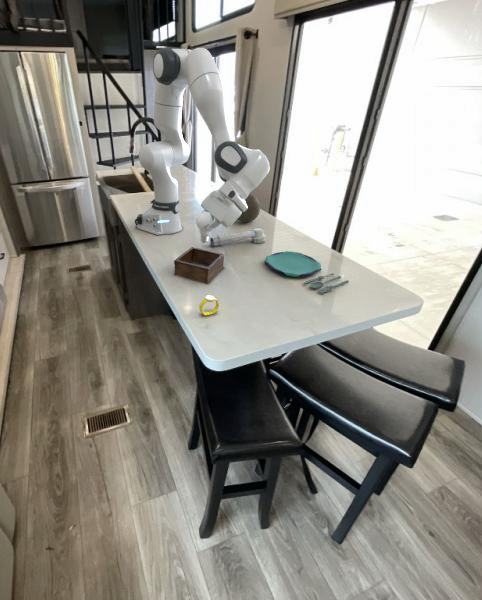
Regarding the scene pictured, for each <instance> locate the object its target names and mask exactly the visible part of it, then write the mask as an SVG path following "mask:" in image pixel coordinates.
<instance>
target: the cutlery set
mask: <svg viewBox="0 0 482 600" xmlns="http://www.w3.org/2000/svg"><path fill="white" fill-rule="evenodd" d="M264 263H265V265H266V264H267V265H268V266H269V267H270V268H271V269H272V270H274V271H277V272H278V273H281V274H284V275H285V276H287V277H293V278H297V277H302V276H303V277H305V276H311V275H313V274H316V273H318V272H320V271H322V264H321V262H320V261H318V260H316V259H314V258H313V257H311V256H309V255H307V254H303V253H302V252H298V251H297V252H296V251H288V250H287V251H279V252H273V253H271V254H270V255H267V256H266V257H265V258H264ZM334 275H335V273H333V272H332V273H330V274H325V275H319V276H318V277H316V278H311V279H308V280H305V281H304V283H303V284H306V285H307V284H309V283H310V284H309V287H310V288H313V289H318V290H317V292H318V293H319V294H323V293H327V292H331V290H332V289H334V288H338V287H341V286H343V285H345V284H349V283H350V281H349V279H346V280H344V281H342V282H339V283H337V284H333V285H326V286H324V285H325V284H327V283H331V282H333V281H336V280H339V279H342V276H340V275H338V276H335V277H332V278H330V279H328V280H325V281H323V282H321V280H323V279H324V278H327V277H329V276H334ZM318 280H319V281H318ZM323 286H324V287H323Z"/></svg>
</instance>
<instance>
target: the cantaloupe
mask: <svg viewBox="0 0 482 600" xmlns="http://www.w3.org/2000/svg"><path fill="white" fill-rule="evenodd" d="M245 202H246V204H247V207H248V209H247V210H246V211H245V212H242V213H241V215H240V217H239V218H238V219H237V220H236V221H238V222H240V223H243V224H248V223H251V222H253V221H255V220H256V219H257V218H258V217H259V215H260V212H261V203H260V201H259V199H258V197H257V196H256V195H255V194H253V193H252V192H250V193H249V195H248V197H247V198H246V199H245Z"/></svg>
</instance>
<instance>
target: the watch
mask: <svg viewBox="0 0 482 600" xmlns="http://www.w3.org/2000/svg"><path fill="white" fill-rule="evenodd" d="M214 301H215V305H214V308H213V309H212V310H210V311H203V308H204V306H205V304H207V303H208V302H210V303H213V302H214ZM219 307H220V302H219V301H218V299H217V298H216V297H215V296H214V295H212V294H208V295H205V297H204V299H203V300H201V302H200V303H199V308H198V309H199V312H200V313H201V314H202V315H203V316H210V315H214V314H216V312H218V309H219Z"/></svg>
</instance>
